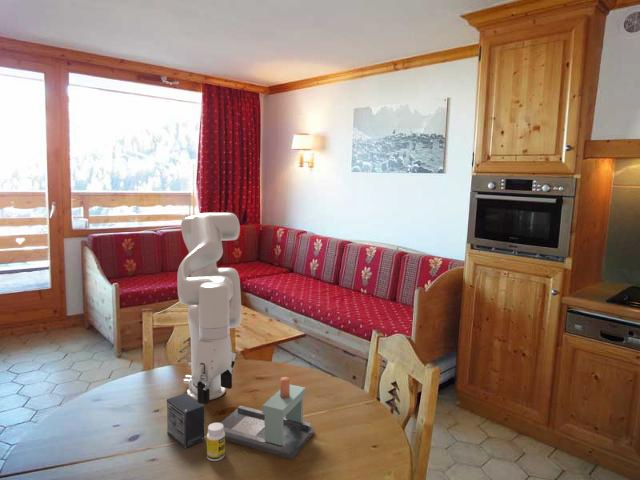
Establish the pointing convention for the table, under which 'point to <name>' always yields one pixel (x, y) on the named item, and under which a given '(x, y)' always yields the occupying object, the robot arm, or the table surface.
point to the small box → (185, 420)
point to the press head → (282, 410)
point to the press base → (250, 432)
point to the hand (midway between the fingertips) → (215, 395)
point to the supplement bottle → (215, 442)
